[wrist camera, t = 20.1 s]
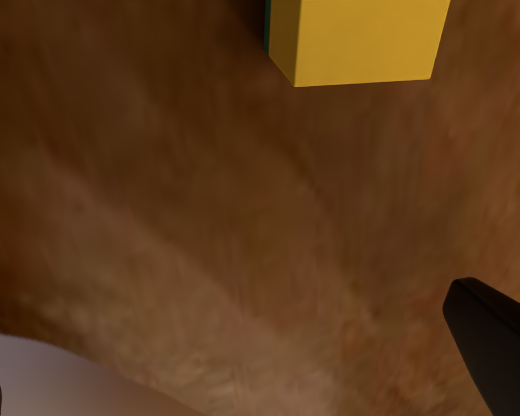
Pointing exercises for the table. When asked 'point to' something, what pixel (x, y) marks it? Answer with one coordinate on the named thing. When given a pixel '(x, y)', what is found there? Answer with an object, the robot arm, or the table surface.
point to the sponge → (353, 39)
